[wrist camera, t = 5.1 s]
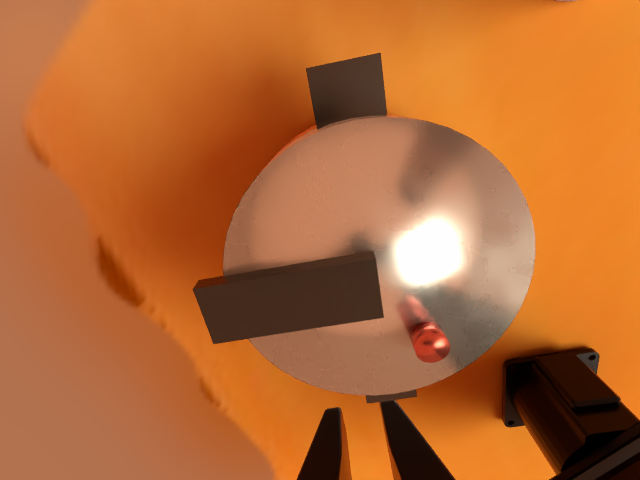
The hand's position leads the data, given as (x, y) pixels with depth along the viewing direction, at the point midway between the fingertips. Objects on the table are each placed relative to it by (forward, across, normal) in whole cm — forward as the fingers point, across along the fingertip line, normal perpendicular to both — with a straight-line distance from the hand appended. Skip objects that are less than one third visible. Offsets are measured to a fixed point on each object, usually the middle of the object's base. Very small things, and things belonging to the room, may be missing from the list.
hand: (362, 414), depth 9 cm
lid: (+8, -1, 0) cm, 8 cm away
